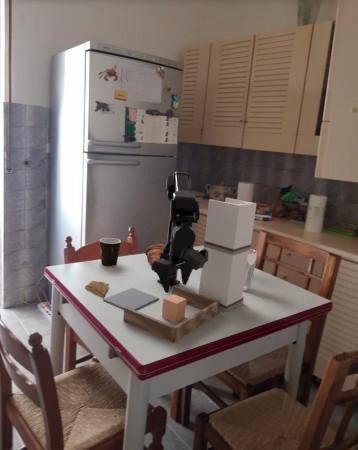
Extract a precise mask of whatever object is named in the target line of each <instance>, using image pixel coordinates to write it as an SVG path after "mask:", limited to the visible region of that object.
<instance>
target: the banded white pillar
mask: <svg viewBox="0 0 358 450" xmlns="http://www.w3.org/2000/svg"><path fill="white" fill-rule="evenodd" d="M224 200H225V201H221V200H216V199H212V198H211V199H208V206H207V214H206V225H205V232H204V233H205V234H204V241H203V243H204V244H203V249H206V250H207V251H208V261H207V262H205V264H204V266H203V268H200V271H201V272H200V280H199V289H198V294H200V295H202V296H205V297H208V298H211V299H214V300H217V301H220V307H219V311H222V310H223V312H225V313H226V311H227V312H229V311H231V310H233V309H234V307H235V308H236V306H237V307H239V306H240V305H242V304H244V297H243V292H244V291H243V286H244V279H245V272H246V264H247V257H248V254H250V249H251V247H252V238H253V233H254V225H255V219H256V218H255V217H256V210H257V203H256V202H251V201H245V200H240V199H236V198H231V197H225V199H224ZM232 308H233V309H232ZM230 309H231V310H230ZM228 310H229V311H228Z"/></svg>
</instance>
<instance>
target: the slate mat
mask: <svg viewBox="0 0 358 450" xmlns="http://www.w3.org/2000/svg"><path fill="white" fill-rule="evenodd" d="M102 300H103V302H106V303H108V304H110V305H112V306H115V307H118V308H119V309H122V310H124V308H125V307H128V308H131V309H133V310H136V311H137V310H139V309H141V308H143V307H146V306H148V305H150V304H152V303H154V302H156V301H158V300H160V298H159V297H157V296H155V295H152V294H149V293H147V292H145V291H142V290H139V289H136V288H134V287H130V288H128V289H125V290H123V291H119V292H117V293H115V294H113V295H110V296H108V297H103V299H102Z"/></svg>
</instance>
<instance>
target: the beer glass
mask: <svg viewBox="0 0 358 450" xmlns="http://www.w3.org/2000/svg"><path fill="white" fill-rule="evenodd" d="M257 257H258V251H257V250H256V249H254V248H253V249H252V248H250V254H248V257H247V264H246V272H245V279H244V286H243V292H248V291H249V292H250V291H251V290H252V278H253V276H254V275H253V274H254V272H255V269H256V264H257Z"/></svg>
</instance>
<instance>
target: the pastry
mask: <svg viewBox="0 0 358 450" xmlns="http://www.w3.org/2000/svg"><path fill="white" fill-rule="evenodd" d="M164 244H165V243H164ZM164 244H163V243H157V244H153V245H150V246H149V247H147V248H146V250H145V252H144V255H145V256H146V258H147V261H148V263H149V264H150V265H149V266H150V267H152V263H153V262H154V261H156V260H159V257H160V252H162V247H163V245H164Z"/></svg>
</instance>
